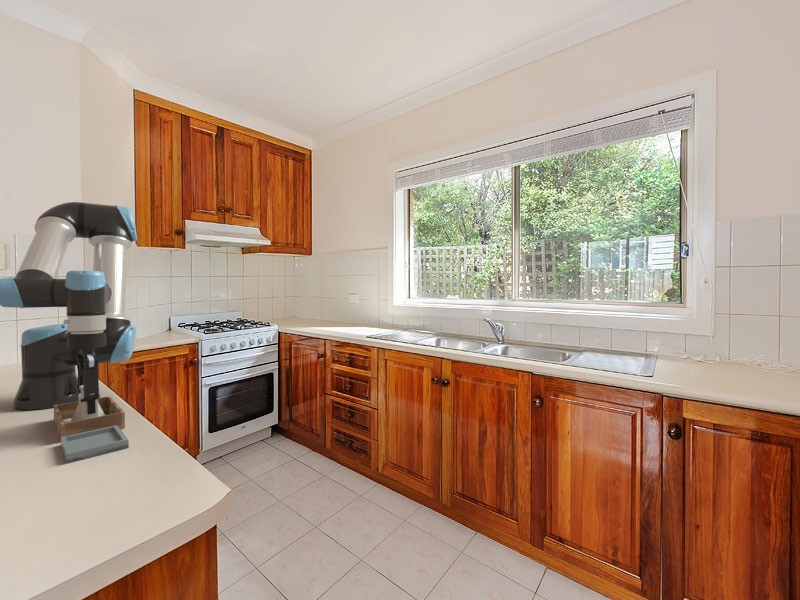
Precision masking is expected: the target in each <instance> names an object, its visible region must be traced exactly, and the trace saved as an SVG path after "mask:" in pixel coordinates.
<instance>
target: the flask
mask: <svg viewBox="0 0 800 600" xmlns="http://www.w3.org/2000/svg"><path fill="white" fill-rule="evenodd" d="M79 388H80V389H81V396H80V400H81V399H84V387H83V385H82V386H79ZM90 395H92V394H90ZM80 400H79V403H78V406H77V408H76V411H75V413H74V415H73V417H72V418H71V419H70V422H74V421H79V420H84V418H83V402H81V401H80ZM105 415H106V414H105V412H103V411H102V409H101V407H100V405H99V403H98V417H99V416H105Z"/></svg>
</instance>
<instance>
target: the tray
mask: <svg viewBox="0 0 800 600" xmlns="http://www.w3.org/2000/svg"><path fill="white" fill-rule="evenodd" d="M60 447H61V451H62V453H63V456H64V459H65V462H66V464H70V463H73V462H77V461H81V460H86V459H90V458H93V457H94V458H95V457H97V456H102V455H105V454H110V453H113V452H116V451H121V450H124V449H129V438H128V437H127V435H126V434H125V433H124V432H123V431H122V429H120V428H119V427H118V426H117V425H116V426H111V427H106V428H102V429H97V430H92V431H87V432H83V433H78V434H73V435H69V436H64V437H61V439H60Z"/></svg>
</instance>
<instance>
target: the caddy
mask: <svg viewBox="0 0 800 600" xmlns="http://www.w3.org/2000/svg"><path fill="white" fill-rule="evenodd" d="M78 403H79V401H77V402H72V403H65V404H59V405H54V407H53V421H54V425H55V427H56V431H57V433H58V436H59V440H61V437H64V436H69V435H73V434H78V433H83V432H87V431H92V430H97V429H102V428H106V427H111V426H116V425H117V426H118V427H119V428H120V429H121V430H124V429H125V428H126V417H125V416H126V415H125V413H126V411H124V409H123V408H121V406H120V405H119V404H118V403H117V402H116V401H115V400H114V399H113V397H111V396H109V395H108V396H104V397H103V396H101V397H99V398H98V403H99V405H100V407H101V409H102V411H103V412H104V413H105V412H108V413H109V414H105V416H99V417H94V418H89V419H84V420H79V421H74V422H71V421H70V422H64V420H68V419H72V417H73V415H74V413H75V411H76V408H77V406H78Z"/></svg>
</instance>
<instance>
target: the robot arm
mask: <svg viewBox="0 0 800 600" xmlns="http://www.w3.org/2000/svg"><path fill="white" fill-rule="evenodd" d="M135 222H136V221H135V217H134V213H133V210H132V209H131V208H129V207H125V206H119V205H110V204H109V205H107V204H99V203H88V202H81V201H79V202H78V201H71V202H64V203H60V204H58V205H55V206H52V207H50V208H49V209H47V210H46V211H44V212H43V213H42V214H41V215H40V216H38V218H37V220H36V221H35V222H34V223H35V224H34V226H33V227H34V232H35V234H34V236H33V239H32V241H31V243H30V245H29V247H28V249H27V251H26V254H25V255H24V258H23V260H22V263H21V265H20V267H19V268H18V271H17V273H16V275H15V277H3V278H0V306H1V308H2V307H3V308H15V309H17V308H20V309H25V308H26V309H27V308H28V309H29V308H30V309H31V308H34V309H35V308H36V309H37V308H66V318H67V319H63V323H58V324H51V325H44V326H38V327H32V328H28V329H26V330H24V331H22V334H21V344H20V350H21V351H20V352H21V353H20V354H21V377H22V378H21V381H20V382H21V383H20V384H19V386H18V389H17V392H16V395H15V397H14V399H13V408H14V409H15V410H21V411H32V410H33V411H34V410H35V411H36V410H44V409H51V408H54V405H59V404H65V403H72V402H78V401H79V400H80V396H81V389H80V388H79V386H82V385H83V387H84V399H81V400H80V401H81V402H83V418H84V419H89V418H94V417H98V398H101V396H100V383H99V381H100V380H99V364H115V363H120V362H127V361H128V360H130V359H131V357H132V355H133V353H134V348H135V342H136V332H137V329H136V326H135V325H134V324H133V325H132V324H131V320H130V319H129V318H128V317H127V316H126V285H127V283H126V282H127V281H126V280H127V279H126V278H127V277H126V276H127V250H128V249H130V248H132V246H133V242H136V241H138V236H137V235H138V234H137V228H136V223H135ZM75 238H77V239H78V238H81V239H88V243H89V244H90V245H91V246H92V247H93V265H92V267H93V268H92V270H68V271H67V272H66V274H65V278H57V277H58V274H59V271H60V268H61V265H62V262H63V260H64V257H65V253H66V250H67V249H68V246H69V243H72V242H73V240H74V239H75ZM76 369H77V374H76ZM90 394H92V395H90Z"/></svg>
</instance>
